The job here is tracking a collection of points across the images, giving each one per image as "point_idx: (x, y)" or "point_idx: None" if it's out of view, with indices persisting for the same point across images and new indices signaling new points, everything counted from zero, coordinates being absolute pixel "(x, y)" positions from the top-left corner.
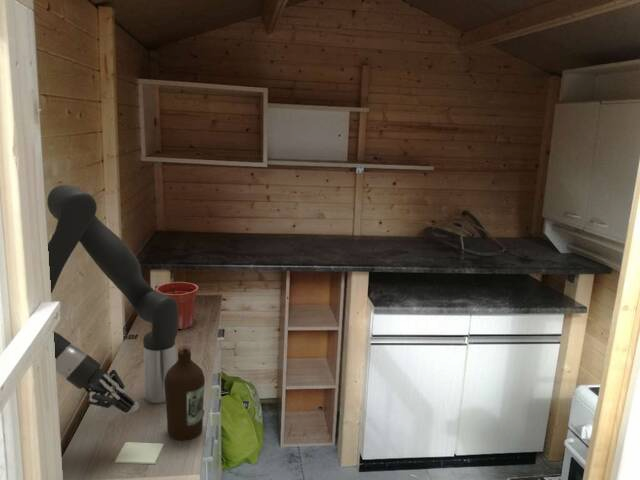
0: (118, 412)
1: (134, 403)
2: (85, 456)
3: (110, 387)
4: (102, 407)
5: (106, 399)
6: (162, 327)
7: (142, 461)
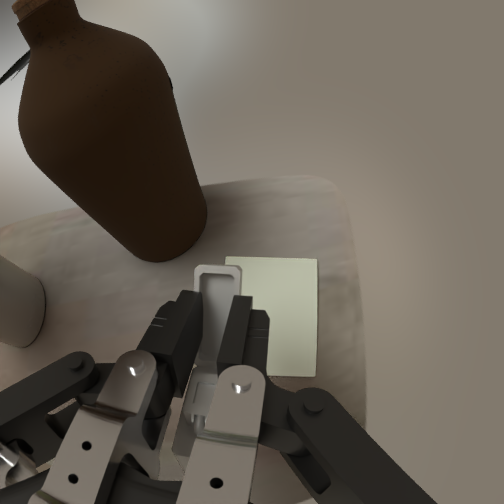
0: None
1: (198, 287)
2: (280, 468)
3: (185, 477)
4: None
5: (375, 449)
6: None
7: (313, 294)
